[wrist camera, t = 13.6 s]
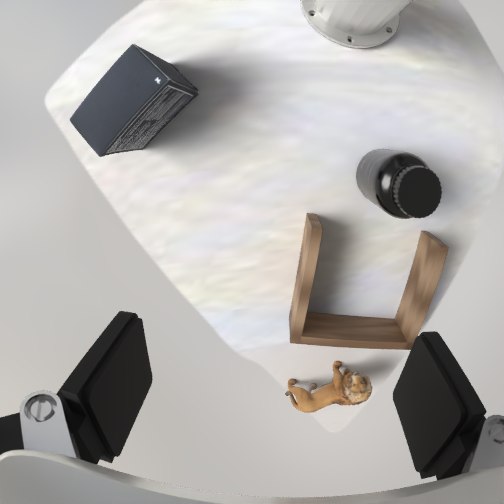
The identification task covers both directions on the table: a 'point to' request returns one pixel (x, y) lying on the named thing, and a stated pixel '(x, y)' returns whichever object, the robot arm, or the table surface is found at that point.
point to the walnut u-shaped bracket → (365, 328)
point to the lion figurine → (332, 391)
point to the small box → (132, 103)
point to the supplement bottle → (399, 183)
